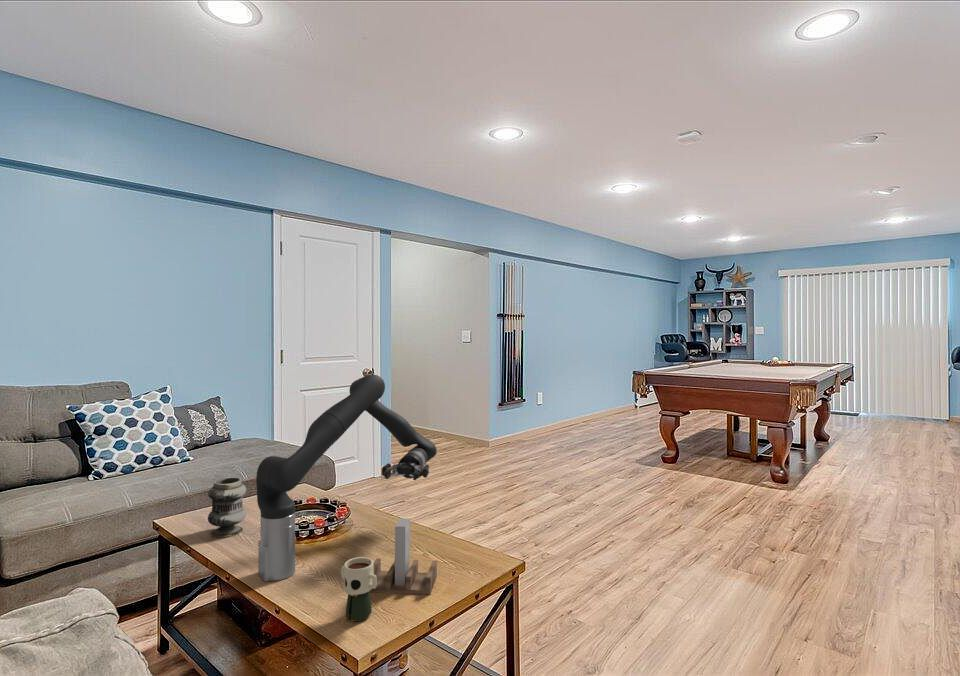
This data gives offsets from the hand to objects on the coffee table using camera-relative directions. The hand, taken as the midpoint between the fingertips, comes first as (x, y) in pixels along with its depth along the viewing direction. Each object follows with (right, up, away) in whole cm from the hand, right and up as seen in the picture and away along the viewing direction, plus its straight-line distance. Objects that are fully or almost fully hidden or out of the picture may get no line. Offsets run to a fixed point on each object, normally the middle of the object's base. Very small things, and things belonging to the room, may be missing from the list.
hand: (400, 476), depth 157 cm
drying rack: (+3, -26, -14) cm, 30 cm away
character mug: (-6, -26, -30) cm, 40 cm away
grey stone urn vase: (-63, -25, +22) cm, 71 cm away
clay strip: (+3, -25, -14) cm, 29 cm away
